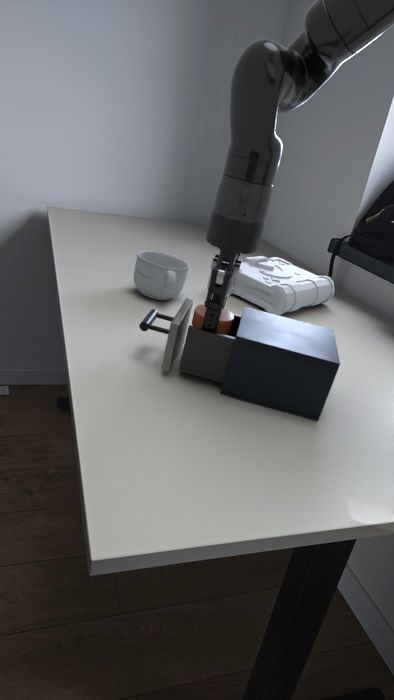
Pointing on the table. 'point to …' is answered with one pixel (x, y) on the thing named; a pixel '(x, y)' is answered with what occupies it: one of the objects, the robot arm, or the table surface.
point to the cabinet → (282, 364)
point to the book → (280, 285)
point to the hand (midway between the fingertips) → (212, 323)
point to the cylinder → (224, 321)
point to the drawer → (194, 344)
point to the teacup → (159, 274)
